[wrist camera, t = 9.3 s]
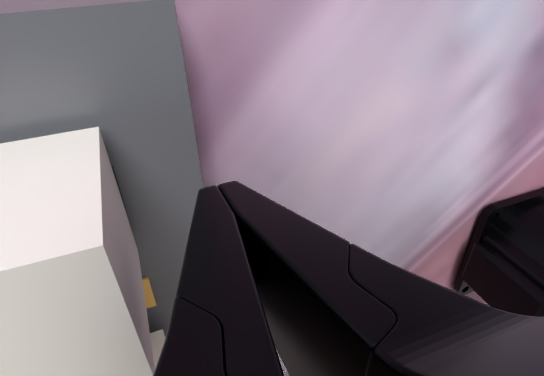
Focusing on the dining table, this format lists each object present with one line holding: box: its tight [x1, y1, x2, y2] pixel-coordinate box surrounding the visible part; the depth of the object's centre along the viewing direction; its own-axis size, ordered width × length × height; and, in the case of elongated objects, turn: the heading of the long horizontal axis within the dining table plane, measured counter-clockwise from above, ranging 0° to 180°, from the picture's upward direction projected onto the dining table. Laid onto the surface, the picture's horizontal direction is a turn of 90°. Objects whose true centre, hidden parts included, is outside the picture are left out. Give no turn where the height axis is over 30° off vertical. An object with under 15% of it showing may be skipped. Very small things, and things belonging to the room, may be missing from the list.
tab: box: [0, 127, 155, 376], centre depth 7 cm, size 3×4×4 cm
